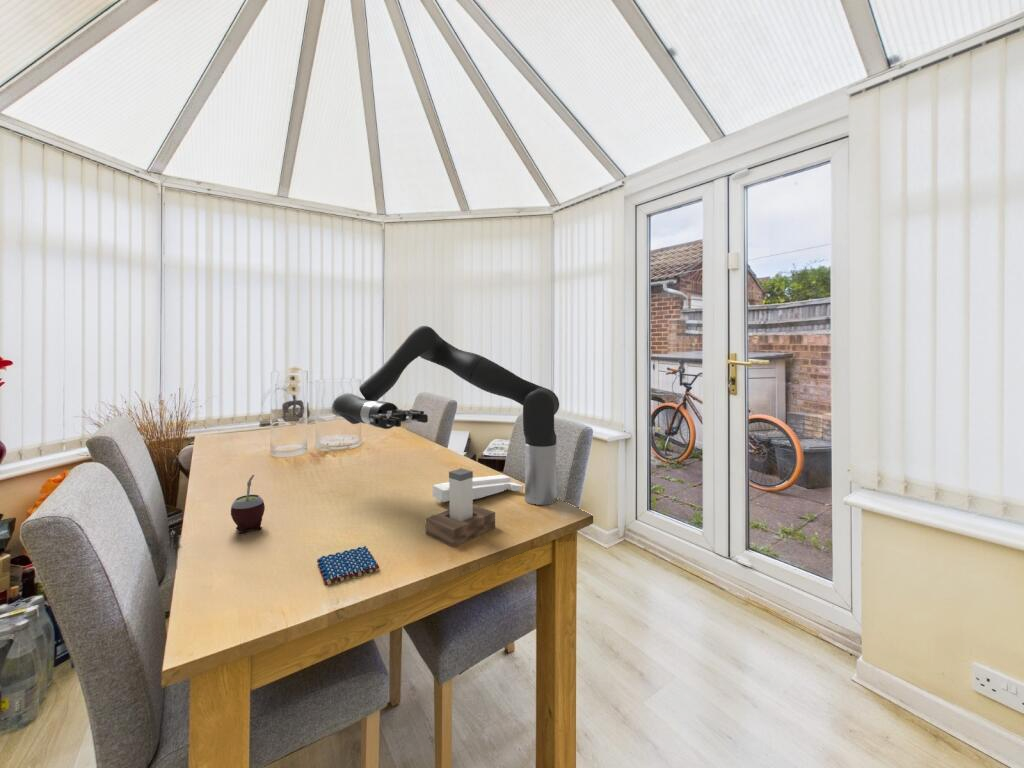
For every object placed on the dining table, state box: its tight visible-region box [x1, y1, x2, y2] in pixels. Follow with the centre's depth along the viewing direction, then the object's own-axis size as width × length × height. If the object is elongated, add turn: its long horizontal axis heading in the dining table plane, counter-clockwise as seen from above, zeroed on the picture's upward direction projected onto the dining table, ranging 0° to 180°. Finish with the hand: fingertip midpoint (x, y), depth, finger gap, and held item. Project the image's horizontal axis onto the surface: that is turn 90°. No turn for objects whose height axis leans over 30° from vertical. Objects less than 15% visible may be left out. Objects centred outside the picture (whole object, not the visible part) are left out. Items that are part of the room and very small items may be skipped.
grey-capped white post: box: [448, 468, 474, 522], centre depth 103 cm, size 4×4×14 cm
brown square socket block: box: [425, 504, 496, 548], centre depth 103 cm, size 14×10×4 cm
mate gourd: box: [230, 474, 266, 535], centre depth 103 cm, size 8×8×15 cm
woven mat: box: [316, 545, 380, 586], centre depth 86 cm, size 10×11×2 cm
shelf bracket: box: [432, 474, 524, 503], centre depth 126 cm, size 6×25×13 cm
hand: (413, 420), depth 110 cm, fingers open, 8 cm apart
